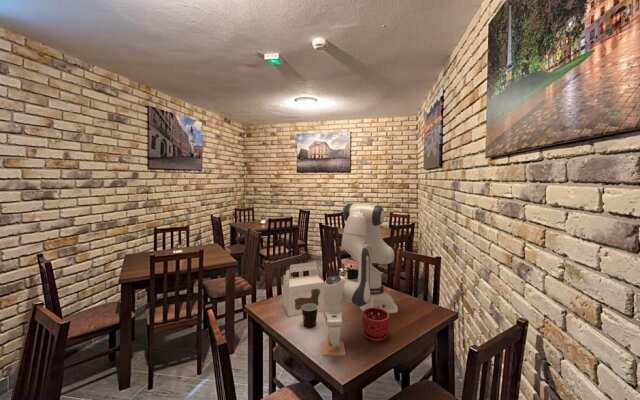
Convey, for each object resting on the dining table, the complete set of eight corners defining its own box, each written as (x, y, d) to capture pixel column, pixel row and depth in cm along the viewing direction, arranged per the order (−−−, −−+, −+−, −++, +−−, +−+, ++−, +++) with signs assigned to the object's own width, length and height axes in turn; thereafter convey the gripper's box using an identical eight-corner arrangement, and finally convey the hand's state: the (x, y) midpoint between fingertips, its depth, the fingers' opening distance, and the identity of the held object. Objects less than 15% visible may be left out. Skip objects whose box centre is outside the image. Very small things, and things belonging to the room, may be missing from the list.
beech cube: (338, 344, 133) (338, 333, 133) (339, 350, 128) (339, 339, 128) (327, 344, 133) (327, 333, 133) (328, 350, 128) (328, 340, 128)
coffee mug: (302, 321, 156) (302, 303, 156) (318, 321, 156) (317, 303, 155) (300, 332, 145) (300, 313, 144) (317, 332, 144) (317, 313, 144)
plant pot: (356, 336, 141) (356, 313, 140) (372, 326, 150) (372, 304, 149) (379, 347, 132) (379, 322, 131) (394, 336, 141) (394, 313, 140)
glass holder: (360, 294, 191) (360, 273, 190) (339, 294, 191) (339, 273, 190) (358, 289, 200) (358, 268, 199) (338, 289, 200) (338, 269, 199)
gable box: (288, 316, 161) (287, 268, 159) (283, 307, 174) (282, 262, 171) (324, 310, 169) (324, 264, 167) (317, 301, 181) (317, 258, 179)
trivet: (343, 342, 136) (343, 341, 136) (345, 355, 126) (345, 354, 126) (322, 342, 135) (322, 341, 135) (322, 355, 125) (322, 354, 125)
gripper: (325, 302, 140) (325, 329, 141) (327, 323, 119) (327, 355, 120) (338, 302, 140) (338, 329, 141) (342, 323, 119) (342, 355, 120)
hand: (333, 341), depth 130 cm, fingers open, 6 cm apart
